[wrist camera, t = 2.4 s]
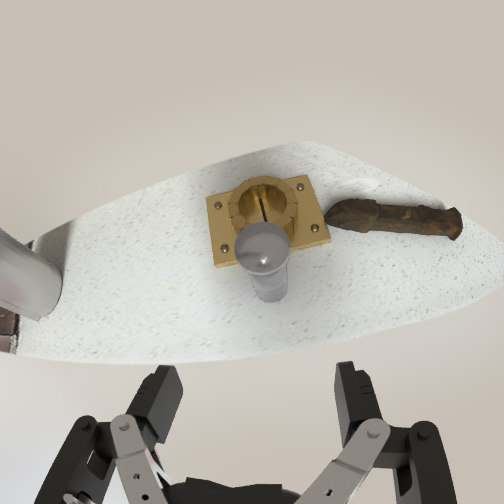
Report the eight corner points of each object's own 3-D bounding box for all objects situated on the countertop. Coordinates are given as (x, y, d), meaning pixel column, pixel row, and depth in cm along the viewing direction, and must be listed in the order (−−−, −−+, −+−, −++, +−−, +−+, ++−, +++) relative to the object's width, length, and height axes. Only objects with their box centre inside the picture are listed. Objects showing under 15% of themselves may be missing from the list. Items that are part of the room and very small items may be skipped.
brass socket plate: (216, 268, 33) (207, 255, 30) (208, 201, 37) (200, 185, 34) (330, 242, 33) (334, 226, 29) (307, 179, 37) (307, 160, 33)
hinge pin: (274, 313, 30) (266, 283, 20) (244, 290, 31) (223, 251, 22) (298, 283, 31) (301, 240, 21) (268, 261, 33) (257, 212, 23)
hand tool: (448, 219, 32) (461, 200, 28) (453, 244, 30) (468, 227, 26) (323, 206, 35) (326, 184, 31) (323, 233, 34) (327, 212, 29)
